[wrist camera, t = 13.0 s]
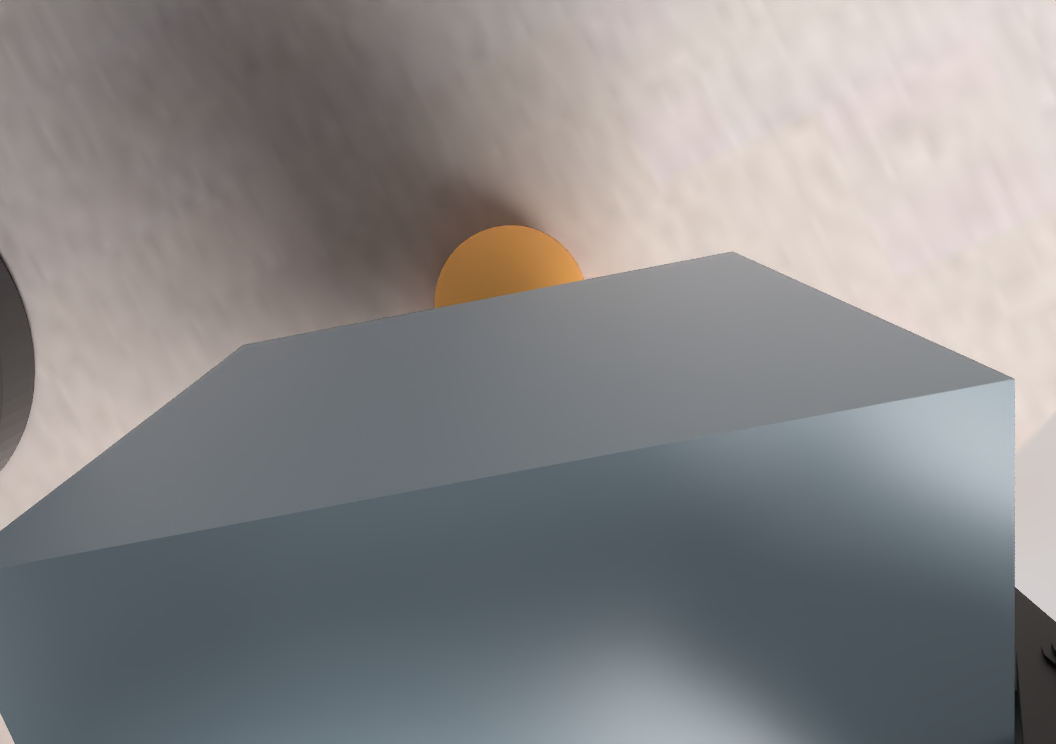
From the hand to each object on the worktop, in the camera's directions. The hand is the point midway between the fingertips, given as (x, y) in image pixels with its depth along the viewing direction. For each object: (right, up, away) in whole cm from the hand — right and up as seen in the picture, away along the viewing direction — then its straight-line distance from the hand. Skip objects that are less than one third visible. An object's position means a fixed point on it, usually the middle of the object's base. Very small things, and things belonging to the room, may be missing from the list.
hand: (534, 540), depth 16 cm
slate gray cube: (0, 0, +1) cm, 1 cm away
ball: (-1, +6, +9) cm, 10 cm away
